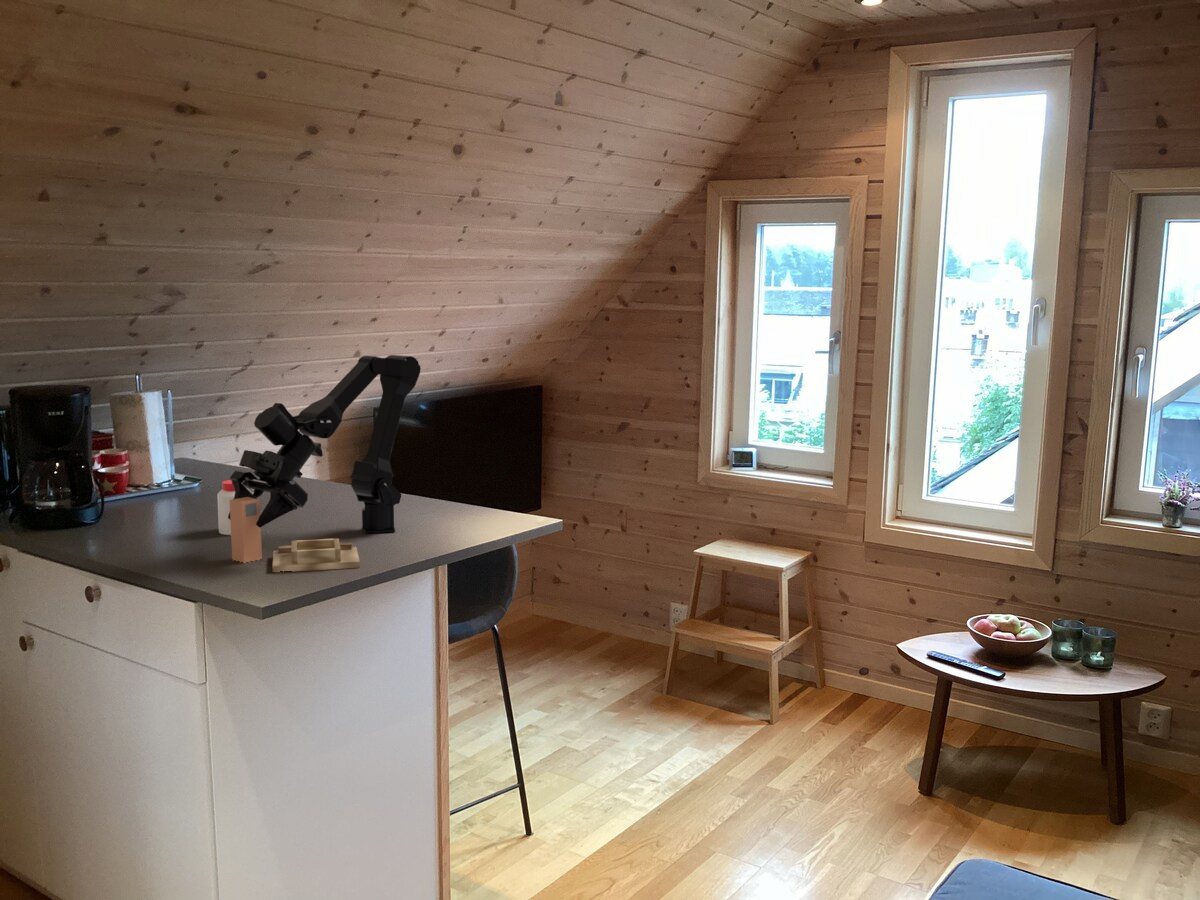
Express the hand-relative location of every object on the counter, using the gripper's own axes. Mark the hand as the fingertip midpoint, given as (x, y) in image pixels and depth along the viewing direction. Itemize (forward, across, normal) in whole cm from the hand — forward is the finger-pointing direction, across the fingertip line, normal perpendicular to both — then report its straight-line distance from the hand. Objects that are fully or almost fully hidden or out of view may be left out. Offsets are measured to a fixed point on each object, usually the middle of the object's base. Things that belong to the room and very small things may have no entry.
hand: (243, 522), depth 208 cm
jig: (0, +12, +11) cm, 16 cm away
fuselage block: (+5, 0, +6) cm, 8 cm away
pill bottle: (-4, -23, +15) cm, 28 cm away
